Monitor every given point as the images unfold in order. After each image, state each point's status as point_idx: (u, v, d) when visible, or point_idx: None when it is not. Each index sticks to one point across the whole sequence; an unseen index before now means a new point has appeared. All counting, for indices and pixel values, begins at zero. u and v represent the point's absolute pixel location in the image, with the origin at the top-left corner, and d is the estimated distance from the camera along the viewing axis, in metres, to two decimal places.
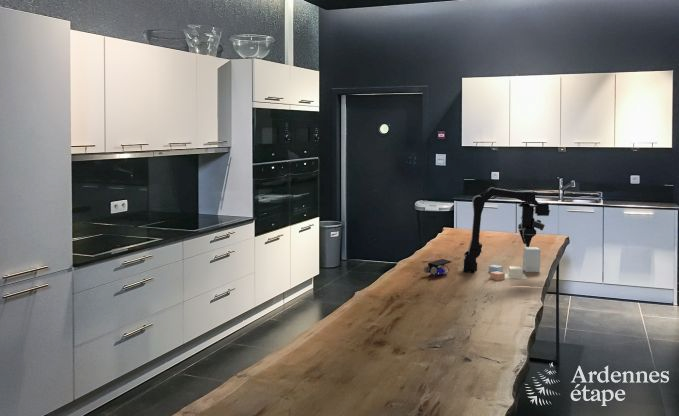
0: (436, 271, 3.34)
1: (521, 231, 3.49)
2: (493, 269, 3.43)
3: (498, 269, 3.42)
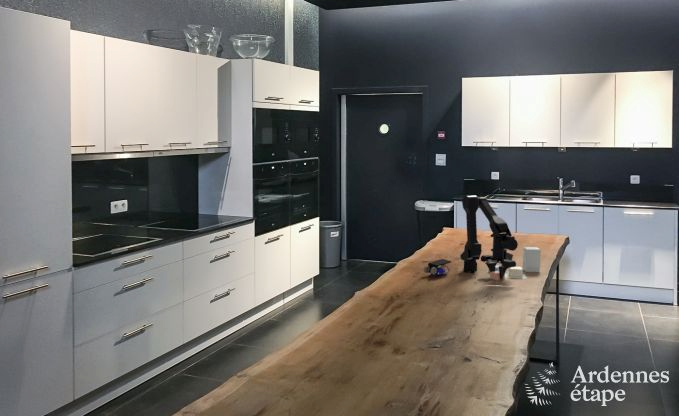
0: (436, 271, 3.34)
1: (490, 264, 3.31)
2: None
3: (498, 269, 3.42)
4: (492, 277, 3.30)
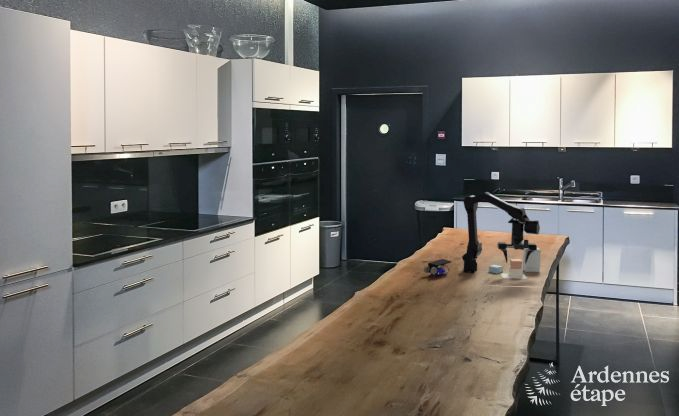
0: (436, 271, 3.34)
1: (526, 250, 3.37)
2: (493, 269, 3.43)
3: (498, 269, 3.42)
4: None
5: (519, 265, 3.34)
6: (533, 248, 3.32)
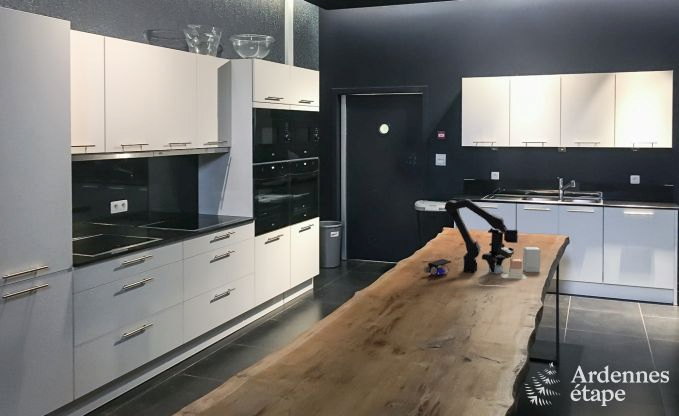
0: (436, 271, 3.34)
1: (496, 257, 3.48)
2: None
3: (498, 269, 3.42)
4: None
5: (519, 265, 3.34)
6: None
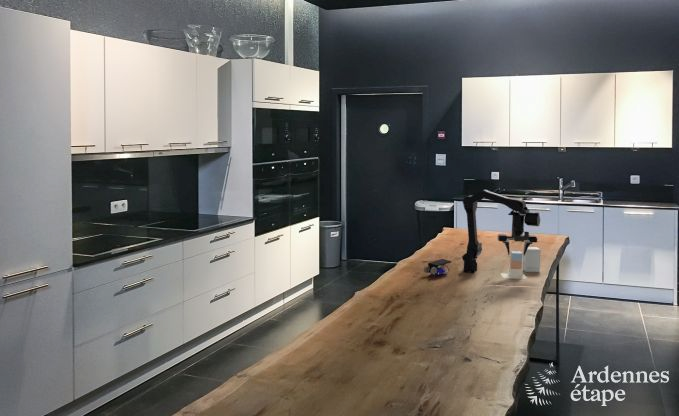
0: (436, 271, 3.34)
1: None
2: (511, 254, 3.36)
3: (514, 255, 3.34)
4: None
5: (519, 265, 3.34)
6: (533, 240, 3.31)
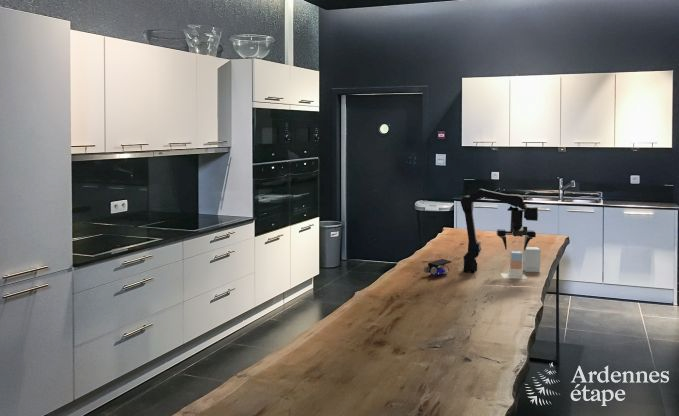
0: (436, 271, 3.34)
1: (525, 237, 3.41)
2: (511, 254, 3.36)
3: (514, 255, 3.34)
4: None
5: (519, 265, 3.34)
6: (532, 235, 3.36)
